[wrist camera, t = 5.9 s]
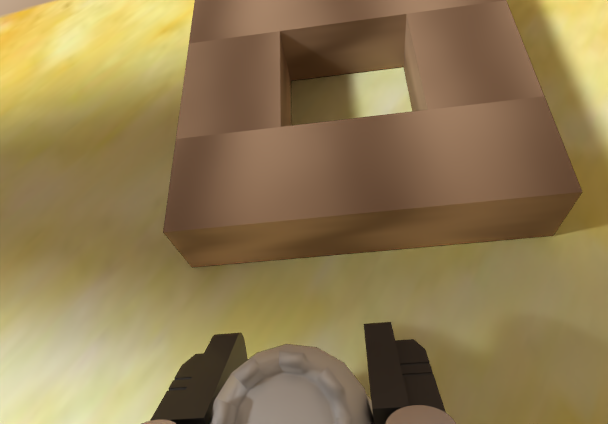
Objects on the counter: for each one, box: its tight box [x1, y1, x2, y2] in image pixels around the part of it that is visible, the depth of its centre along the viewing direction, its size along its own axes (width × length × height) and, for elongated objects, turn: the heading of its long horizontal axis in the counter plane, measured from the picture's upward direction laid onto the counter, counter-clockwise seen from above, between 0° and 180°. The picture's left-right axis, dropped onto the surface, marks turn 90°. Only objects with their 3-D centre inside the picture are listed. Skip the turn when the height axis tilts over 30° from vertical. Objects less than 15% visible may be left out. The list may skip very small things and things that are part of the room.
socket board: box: [163, 0, 582, 267], centre depth 21 cm, size 14×14×3 cm
